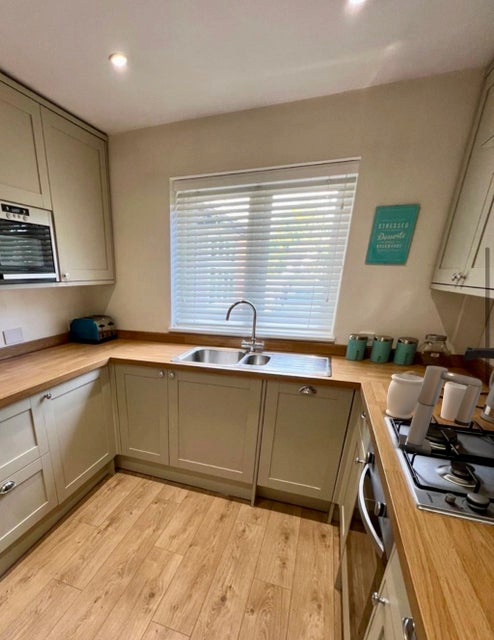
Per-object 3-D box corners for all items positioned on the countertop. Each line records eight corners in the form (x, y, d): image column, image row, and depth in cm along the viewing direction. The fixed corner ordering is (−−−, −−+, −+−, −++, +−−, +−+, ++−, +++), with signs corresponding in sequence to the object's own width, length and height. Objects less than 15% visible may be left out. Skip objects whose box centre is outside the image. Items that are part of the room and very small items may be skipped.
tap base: (427, 444, 104) (441, 402, 99) (429, 455, 97) (444, 410, 92) (398, 437, 107) (410, 397, 102) (398, 447, 101) (410, 404, 96)
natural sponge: (419, 391, 154) (425, 370, 150) (420, 396, 147) (426, 375, 143) (397, 387, 159) (402, 367, 155) (396, 392, 152) (402, 371, 148)
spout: (473, 425, 89) (491, 378, 84) (462, 427, 87) (479, 380, 82) (421, 406, 101) (434, 365, 96) (410, 408, 99) (423, 366, 95)
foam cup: (439, 411, 130) (450, 380, 126) (469, 419, 124) (481, 386, 119) (432, 417, 124) (442, 384, 120) (462, 425, 118) (475, 391, 113)
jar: (385, 417, 123) (395, 379, 118) (379, 408, 132) (389, 372, 127) (418, 422, 120) (430, 383, 114) (410, 412, 129) (420, 375, 124)
